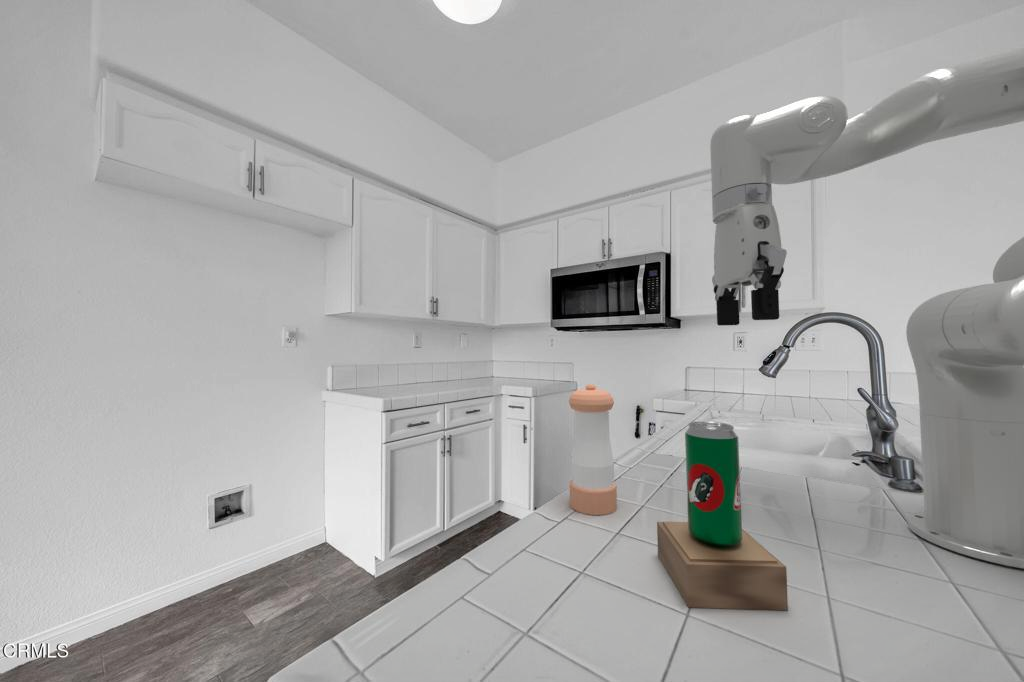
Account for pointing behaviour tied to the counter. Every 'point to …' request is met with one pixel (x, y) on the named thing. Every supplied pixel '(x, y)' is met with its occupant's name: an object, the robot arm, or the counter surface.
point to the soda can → (713, 484)
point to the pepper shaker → (592, 453)
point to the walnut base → (722, 571)
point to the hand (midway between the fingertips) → (745, 322)
